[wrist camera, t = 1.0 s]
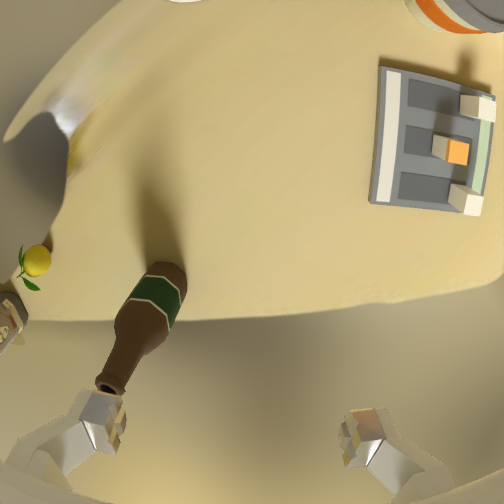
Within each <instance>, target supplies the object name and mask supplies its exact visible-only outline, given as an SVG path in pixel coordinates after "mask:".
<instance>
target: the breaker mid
mask: <svg viewBox="0 0 504 504" xmlns="http://www.w3.org/2000/svg"><path fill="white" fill-rule="evenodd" d="M468 152H469V144H467V143H464V142H462V141H459V140H456V139H453V138H449V137H444V136H439V135H434V136H433V146H432V155H434V156H436V157H438V158H441V159H443V160H445V161H447V162H450V163H456V164H461V165H466V166H467V159H468Z"/></svg>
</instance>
